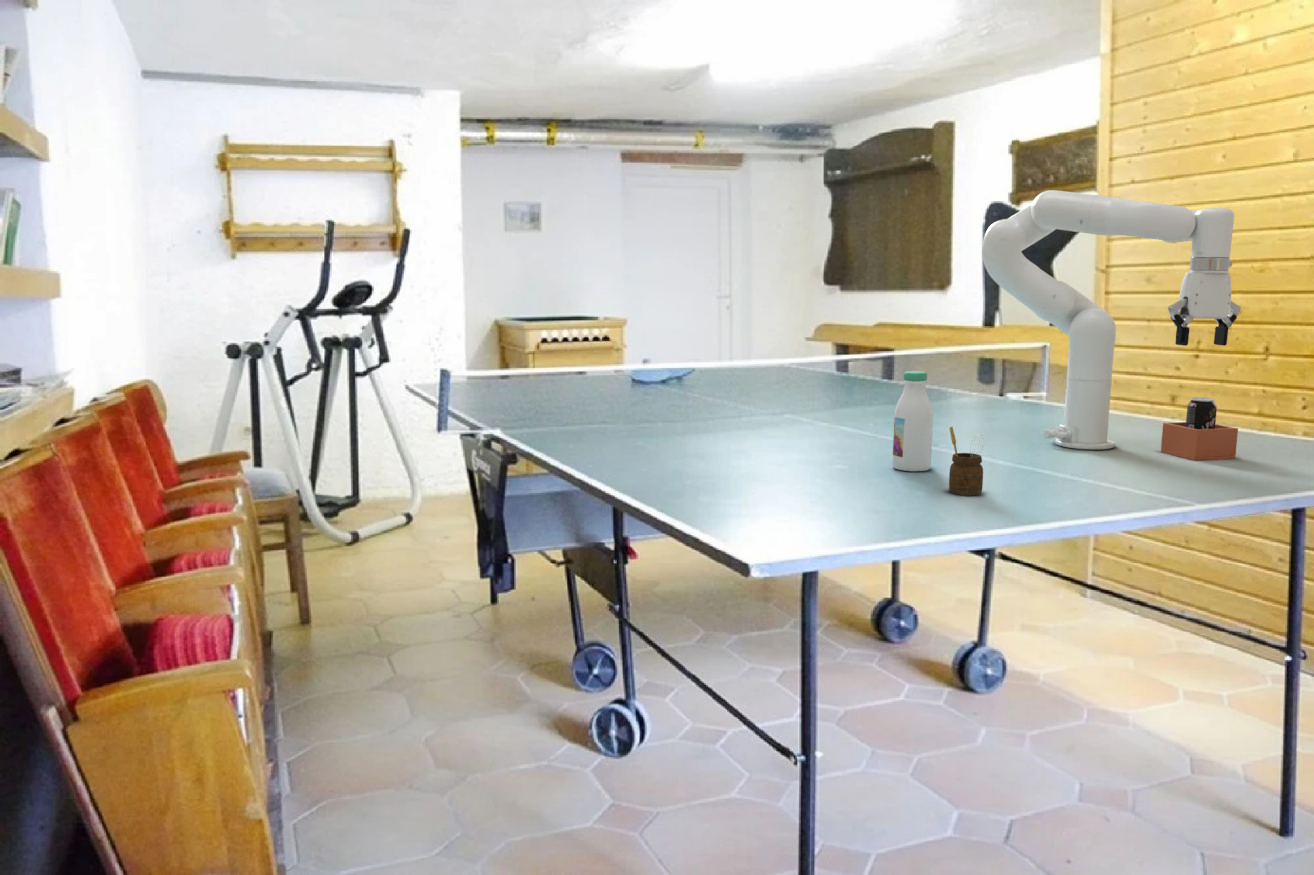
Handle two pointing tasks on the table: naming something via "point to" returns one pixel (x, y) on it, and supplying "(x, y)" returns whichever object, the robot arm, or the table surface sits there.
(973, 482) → the utensil holder
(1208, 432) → the bin
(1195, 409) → the beverage can
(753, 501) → the table surface
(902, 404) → the milk bottle
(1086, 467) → the table surface
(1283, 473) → the table surface
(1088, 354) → the robot arm
